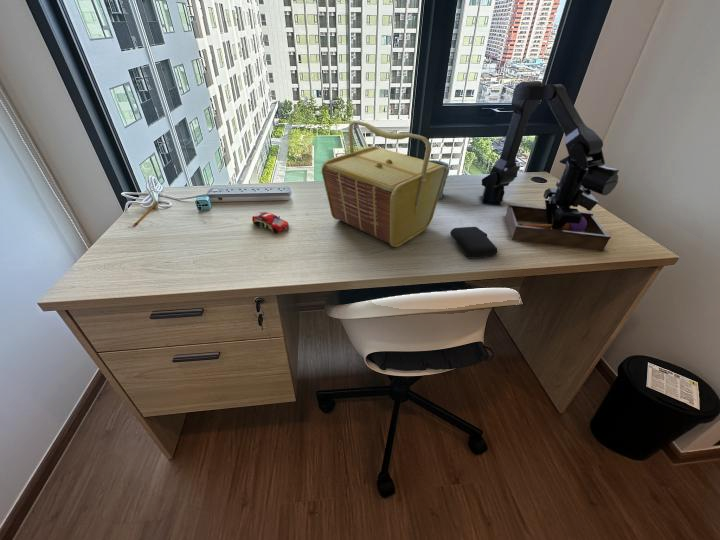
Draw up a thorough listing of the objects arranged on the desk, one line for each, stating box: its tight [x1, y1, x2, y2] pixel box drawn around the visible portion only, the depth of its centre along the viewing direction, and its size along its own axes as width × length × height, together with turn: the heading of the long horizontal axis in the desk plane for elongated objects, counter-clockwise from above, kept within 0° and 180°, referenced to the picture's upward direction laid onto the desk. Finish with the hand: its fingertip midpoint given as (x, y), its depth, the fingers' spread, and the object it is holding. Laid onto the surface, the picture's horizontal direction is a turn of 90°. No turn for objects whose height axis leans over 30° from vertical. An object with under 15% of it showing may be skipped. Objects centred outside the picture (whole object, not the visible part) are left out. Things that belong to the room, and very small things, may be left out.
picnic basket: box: [320, 120, 447, 248], centre depth 99 cm, size 29×26×30 cm
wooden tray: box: [504, 203, 612, 252], centre depth 104 cm, size 26×16×5 cm, turn 78°
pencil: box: [132, 200, 159, 228], centre depth 112 cm, size 19×1×1 cm, turn 4°
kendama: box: [519, 216, 587, 233], centre depth 104 cm, size 6×6×20 cm
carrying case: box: [450, 226, 498, 259], centre depth 97 cm, size 11×3×15 cm
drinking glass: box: [429, 159, 451, 200], centre depth 124 cm, size 10×10×12 cm
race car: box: [251, 211, 290, 235], centre depth 104 cm, size 13×5×4 cm, turn 57°
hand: (551, 229), depth 105 cm, fingers closed on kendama, 5 cm apart
